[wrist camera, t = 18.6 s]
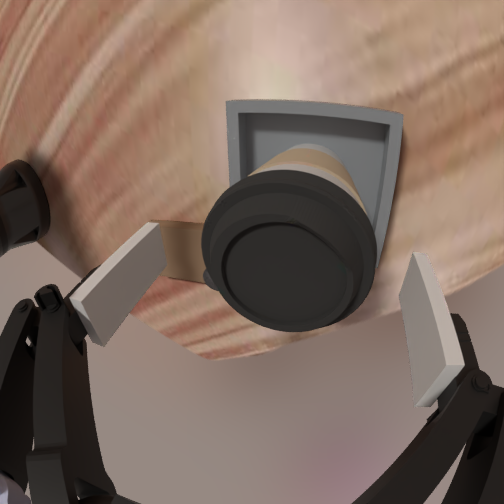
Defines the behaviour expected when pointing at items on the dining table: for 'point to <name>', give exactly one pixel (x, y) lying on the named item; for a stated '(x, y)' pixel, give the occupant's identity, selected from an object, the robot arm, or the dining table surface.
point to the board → (182, 249)
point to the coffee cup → (292, 242)
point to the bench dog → (209, 280)
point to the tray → (325, 134)
